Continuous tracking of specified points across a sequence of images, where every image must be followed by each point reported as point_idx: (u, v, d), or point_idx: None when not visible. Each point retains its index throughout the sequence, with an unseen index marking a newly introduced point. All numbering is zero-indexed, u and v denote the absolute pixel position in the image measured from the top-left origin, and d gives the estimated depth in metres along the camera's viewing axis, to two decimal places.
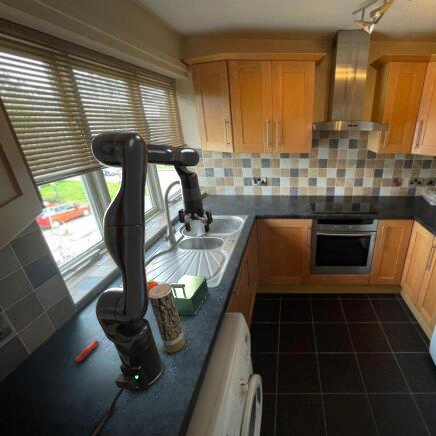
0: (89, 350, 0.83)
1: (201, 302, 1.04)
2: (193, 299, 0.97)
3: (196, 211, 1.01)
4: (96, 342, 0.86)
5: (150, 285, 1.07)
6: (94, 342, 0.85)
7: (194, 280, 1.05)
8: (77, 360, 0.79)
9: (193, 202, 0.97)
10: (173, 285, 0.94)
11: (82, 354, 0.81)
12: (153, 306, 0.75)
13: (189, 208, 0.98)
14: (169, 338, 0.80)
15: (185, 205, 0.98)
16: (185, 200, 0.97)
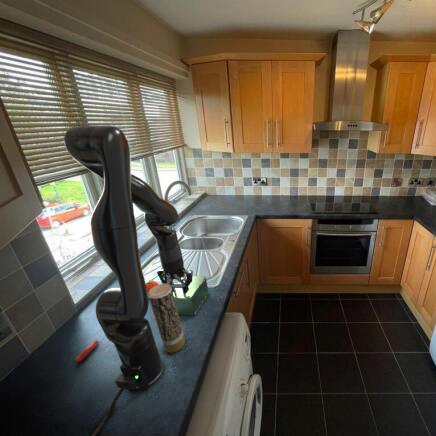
0: (89, 350, 0.83)
1: (201, 302, 1.04)
2: (193, 299, 0.97)
3: (176, 271, 0.91)
4: (96, 342, 0.86)
5: (150, 285, 1.07)
6: (94, 342, 0.85)
7: (194, 280, 1.05)
8: (77, 360, 0.79)
9: (172, 263, 0.87)
10: (173, 285, 0.94)
11: (82, 354, 0.81)
12: (153, 306, 0.75)
13: (167, 270, 0.88)
14: (169, 338, 0.80)
15: (163, 266, 0.88)
16: (163, 261, 0.87)
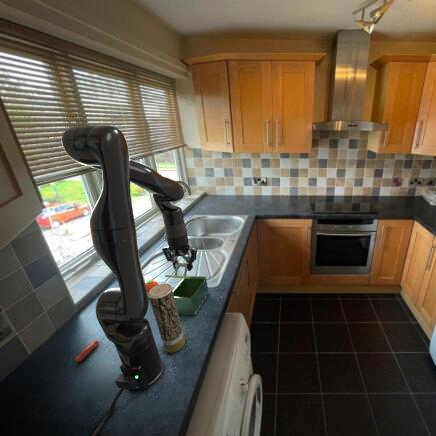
0: (89, 350, 0.83)
1: (201, 302, 1.04)
2: (193, 299, 0.97)
3: (181, 247, 0.94)
4: (96, 342, 0.86)
5: (150, 285, 1.07)
6: (94, 342, 0.85)
7: None
8: (77, 360, 0.79)
9: (177, 239, 0.90)
10: (178, 263, 0.97)
11: (82, 354, 0.81)
12: (153, 306, 0.75)
13: (173, 245, 0.90)
14: (169, 338, 0.80)
15: (168, 242, 0.91)
16: (168, 237, 0.90)
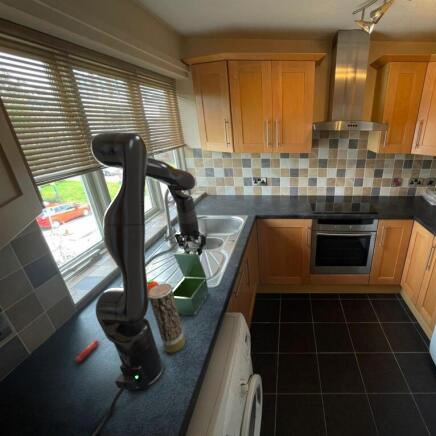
0: (89, 350, 0.83)
1: (201, 302, 1.04)
2: (193, 299, 0.97)
3: (192, 233, 1.01)
4: (96, 342, 0.86)
5: (150, 285, 1.07)
6: (94, 342, 0.85)
7: None
8: (77, 360, 0.79)
9: (188, 225, 0.98)
10: (189, 248, 1.05)
11: (82, 354, 0.81)
12: (153, 306, 0.75)
13: (185, 231, 0.98)
14: (169, 338, 0.80)
15: (181, 228, 0.98)
16: (181, 223, 0.97)
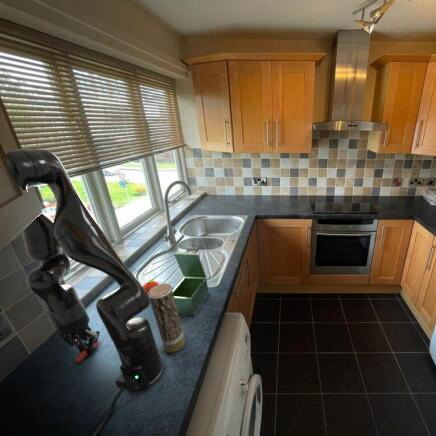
0: None
1: (201, 302, 1.04)
2: (193, 299, 0.97)
3: (77, 332, 0.78)
4: (96, 342, 0.86)
5: (150, 285, 1.07)
6: None
7: None
8: (77, 360, 0.79)
9: (68, 326, 0.74)
10: (189, 247, 1.05)
11: (82, 354, 0.81)
12: (153, 306, 0.75)
13: (63, 333, 0.75)
14: (169, 338, 0.80)
15: None
16: (56, 324, 0.74)
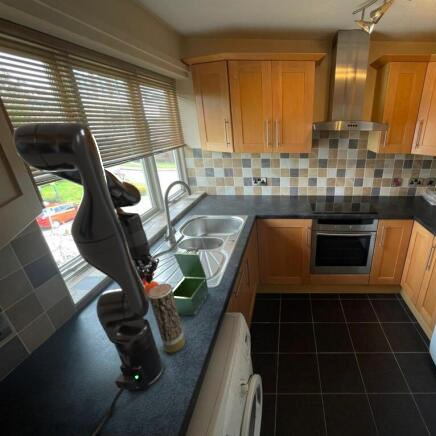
0: None
1: (201, 302, 1.04)
2: (193, 299, 0.97)
3: (141, 257, 0.84)
4: (153, 273, 0.92)
5: (150, 285, 1.07)
6: None
7: None
8: None
9: (134, 249, 0.80)
10: (189, 247, 1.05)
11: (143, 280, 0.87)
12: (153, 306, 0.75)
13: (130, 255, 0.81)
14: (169, 338, 0.80)
15: None
16: None
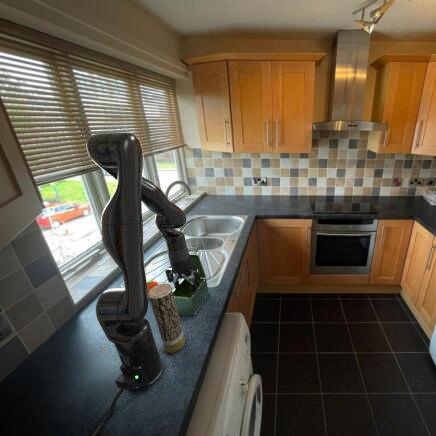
0: None
1: (201, 302, 1.04)
2: (193, 299, 0.97)
3: (184, 270, 0.96)
4: None
5: (150, 285, 1.07)
6: None
7: None
8: None
9: (180, 263, 0.93)
10: (189, 247, 1.05)
11: None
12: (153, 306, 0.75)
13: (176, 269, 0.93)
14: (169, 338, 0.80)
15: (172, 266, 0.93)
16: (171, 262, 0.92)
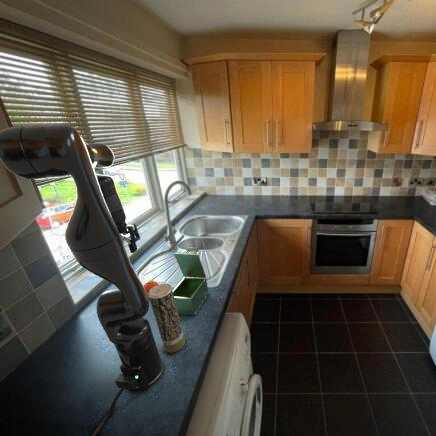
0: None
1: (201, 302, 1.04)
2: (193, 299, 0.97)
3: (115, 226, 0.78)
4: None
5: (150, 285, 1.07)
6: None
7: None
8: None
9: None
10: (189, 247, 1.05)
11: None
12: (153, 306, 0.75)
13: None
14: (169, 338, 0.80)
15: None
16: None
